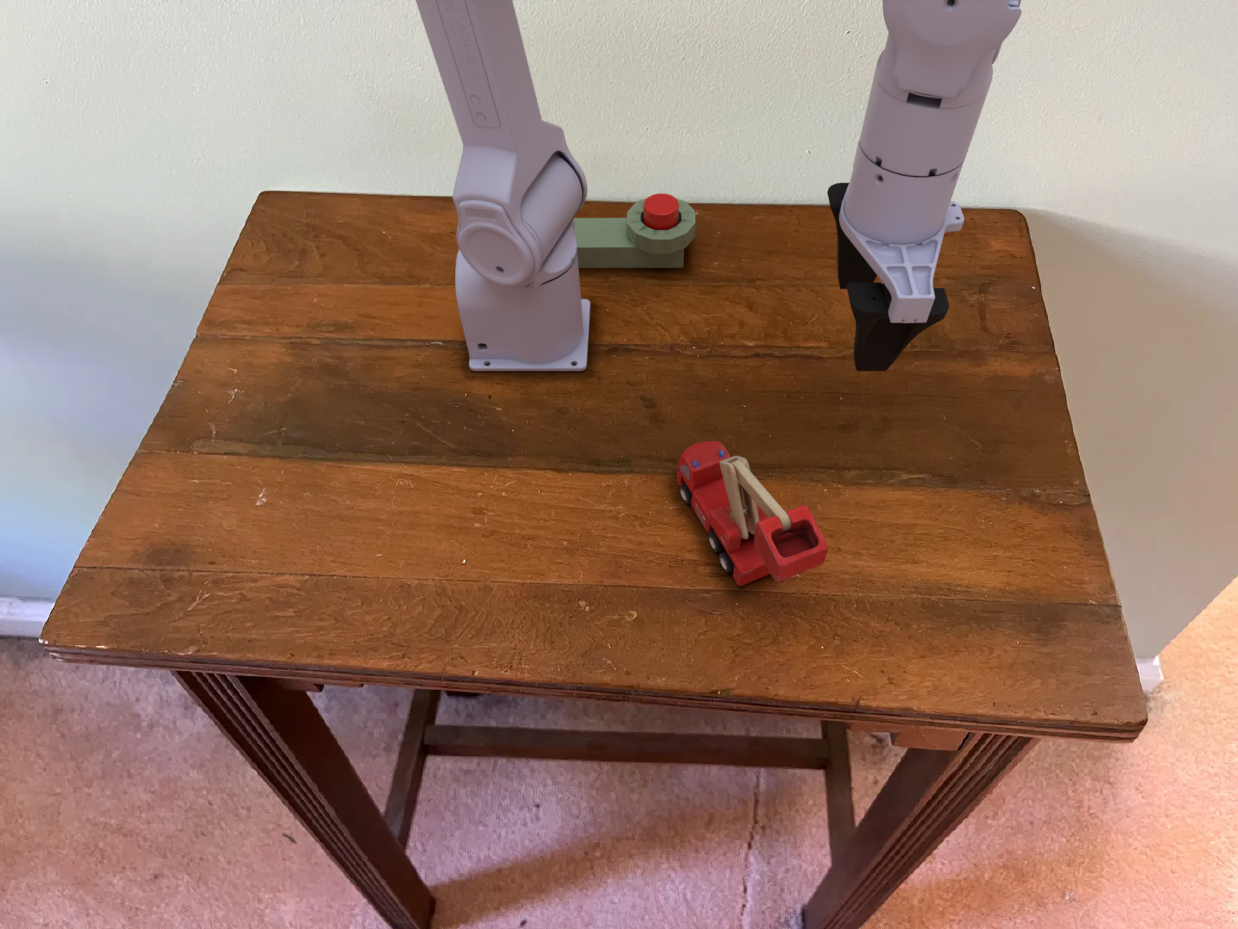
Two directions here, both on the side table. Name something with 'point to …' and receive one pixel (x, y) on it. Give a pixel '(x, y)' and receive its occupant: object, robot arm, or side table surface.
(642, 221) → the button box
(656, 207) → the button
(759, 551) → the toy fire truck
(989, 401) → the side table surface
